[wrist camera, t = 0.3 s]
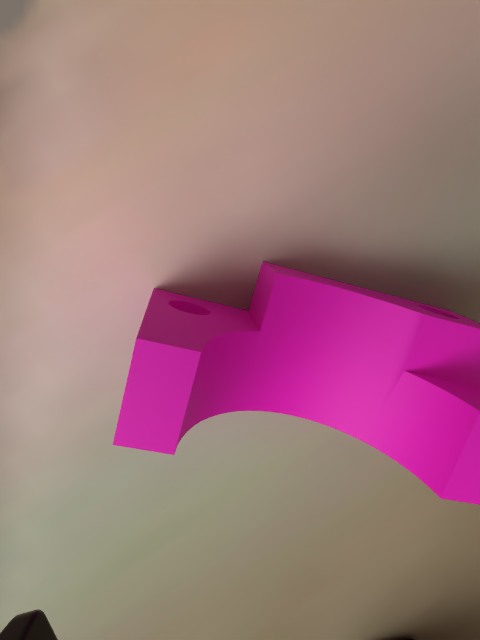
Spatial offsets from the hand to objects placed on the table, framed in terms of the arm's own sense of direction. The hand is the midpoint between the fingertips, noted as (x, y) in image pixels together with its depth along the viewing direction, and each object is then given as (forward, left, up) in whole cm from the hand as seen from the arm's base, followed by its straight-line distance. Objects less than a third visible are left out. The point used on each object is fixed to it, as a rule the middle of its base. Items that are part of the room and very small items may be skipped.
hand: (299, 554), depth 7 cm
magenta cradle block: (-2, -3, -14) cm, 15 cm away
